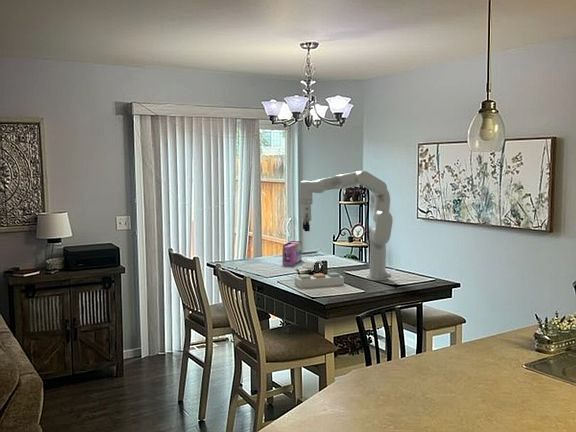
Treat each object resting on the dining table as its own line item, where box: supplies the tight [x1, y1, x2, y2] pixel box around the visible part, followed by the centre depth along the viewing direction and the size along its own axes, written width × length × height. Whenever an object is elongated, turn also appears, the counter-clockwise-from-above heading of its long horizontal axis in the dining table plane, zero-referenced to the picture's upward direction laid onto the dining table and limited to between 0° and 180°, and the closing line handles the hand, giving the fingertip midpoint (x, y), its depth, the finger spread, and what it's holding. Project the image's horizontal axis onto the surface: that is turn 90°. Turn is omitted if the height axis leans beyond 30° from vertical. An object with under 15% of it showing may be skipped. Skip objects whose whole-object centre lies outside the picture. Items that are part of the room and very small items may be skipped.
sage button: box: [298, 273, 312, 279], centre depth 326 cm, size 5×5×3 cm
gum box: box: [282, 240, 303, 266], centre depth 400 cm, size 24×8×14 cm, turn 163°
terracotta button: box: [312, 272, 326, 278], centre depth 328 cm, size 5×5×3 cm
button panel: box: [294, 274, 345, 289], centre depth 329 cm, size 27×9×4 cm, turn 107°
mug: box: [301, 258, 324, 272], centre depth 365 cm, size 12×10×8 cm
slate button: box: [327, 272, 340, 277], centre depth 331 cm, size 5×5×3 cm
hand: (306, 230), depth 337 cm, fingers open, 9 cm apart
